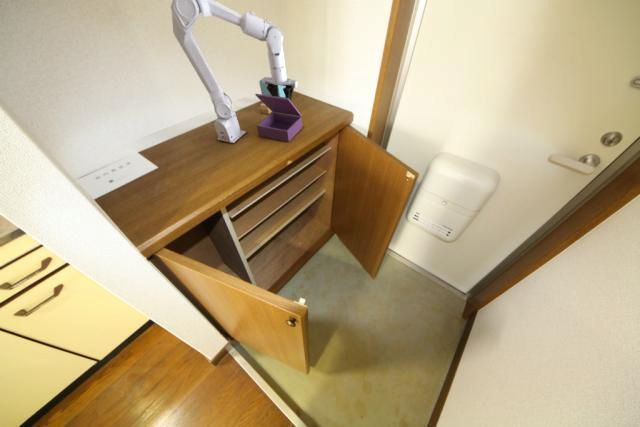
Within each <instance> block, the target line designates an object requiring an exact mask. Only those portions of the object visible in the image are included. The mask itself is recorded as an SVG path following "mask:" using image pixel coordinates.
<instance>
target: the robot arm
mask: <svg viewBox="0 0 640 427" xmlns="http://www.w3.org/2000/svg"><path fill="white" fill-rule="evenodd" d="M170 11H171V21H172V33H173V35H174V37H175V39H176V41H177V42H178V44H179V46H180V47H181V49H182V50H183V53H184V54H185V56H186V57H187V59H188V61H189V63H190V64H191V66H192V68H193V69H194V71H195V73H196V74H197V76H198V78H199V80H200V81H201V83H202V85H203V87H204V88H205V89H206V91H207V93H208V95H209V98H210V100H211V101H210V102H211V103H212V104H213V108H214V112H215V114H216V119H215V121H214V122H213V128H214V129H215V132H216V135H217V140H218V141H222V142H227V143H231V144H234V143H235V142H236V141H238V140H239V139H240V138H241V137H243V136H245V135H246V133H247V131H246V130H242V129H241V127H240V123H239V120H238V116H237V113H236V111H235V110H234V109H233V107H232V103H233V101H232V99H231V97H230V96H229V95H228V94H226V92H225V91H224V89H223V88H222V86H220V83H219V82H218V79H217V78H216V76H215V74H214V72H213V71H212V69H211V67H210V64H209V63H208V61H207V59H206V58H205V56H204V53H203V52H202V50H201V48H200V46H199V44H198V42H197V40H196V39H195V37H194V35H193V32H194V28H195V24H196V22H197V20H198V19H199V16H200V13H201V18H207V17H215V18H218V19H220V20H223V21H226V22H228V23H230V24H233V25H235V26H237V27H239V28H240V30H241V31H242V33H243V34H244V35H246V36H248V37H250V38H253V39H255V40H258V41H260V42H266V49H267V59H268V65H269V70H270V76H271V77H269V76H264V77H263V78H261V80H263V84H268V86H267V90H268V91H269V92H270V94H271V95H272V96H276V97H279V96H278V85H281V86H284V88H283V91H284V94H285V97H286V98H289V99H290V101H291V102H292V96H293V92H294V90H295V89H296V88H298V87H299V83H298V80H295V79H291V78H288V76H287V69H286V61H285V52H284V49H283V48H284V46H283V43H284V35H283V32H282V30H281V29H280V28H279V26H277V25H276V24H274V23H273V22H270V20H269V19H267V18H266V19H263V18H261V17H259V16H257V15H256V13H255V11H252V10H250V11H246V10H245V11H244V12H242V13H239V12H237V11H236V10H234V9H232V8H230V7H228V6H225V5H223V4H222V3H220V2H218V1H216V0H172V1H171V4H170Z"/></svg>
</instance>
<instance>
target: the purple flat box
mask: <svg viewBox="0 0 640 427" xmlns="http://www.w3.org/2000/svg"><path fill="white" fill-rule="evenodd" d="M302 128H303V117H302V116H295V115H289V114H283V113H277V112H271V113H270V114H268V115H267V116H266V117H265V118H264V119H263V120H261V121H260V122H259V123H258V124H256V129H257V134H258V137H262V138H267V139H272V140H277V141H282V142H287V143H290V142H291V141H292V139H293V138H294V137H295V136H296V135H297V134H298V133H299V132H300V130H301V129H302Z"/></svg>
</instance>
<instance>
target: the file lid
mask: <svg viewBox="0 0 640 427" xmlns="http://www.w3.org/2000/svg"><path fill="white" fill-rule="evenodd" d="M254 95H255V97H256V98H257V99H258V100H260V102H262V103H264V104H265V105H266V106H267V107H268V108H269V109H270V110H271V111H272V112H275V113H281V114H287V115H294V116H300V117H302V116H303V115H302V114H301V113H300V111H299V110H298V109H297V107H296V106H295V104H294V103H293V102H292V100H291V101H290V99H289V98H284V97H276V96H269V95H262V93H255V94H254ZM272 112H271V113H272Z"/></svg>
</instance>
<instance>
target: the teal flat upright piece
mask: <svg viewBox="0 0 640 427" xmlns="http://www.w3.org/2000/svg"><path fill="white" fill-rule="evenodd" d="M258 84H259V88H260V94H262V95H269V96H272V95H271V94H270V92H269V91H268V90H267V86H268V84H263V80H262V79H260V80H259V82H258ZM283 88H285V86H281V85H278V96H279V97H284V98H286V97H285V94H284V91H283Z"/></svg>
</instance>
